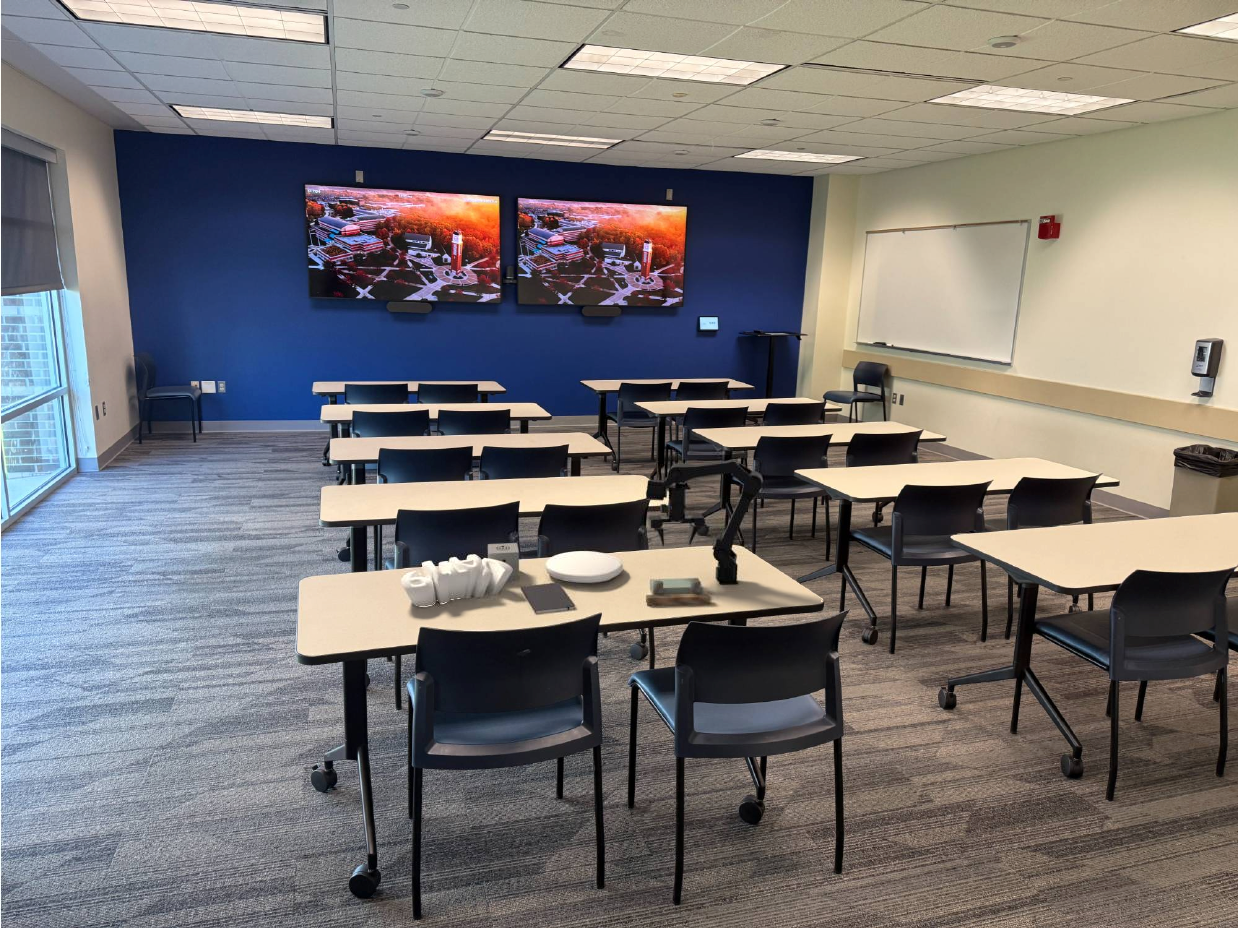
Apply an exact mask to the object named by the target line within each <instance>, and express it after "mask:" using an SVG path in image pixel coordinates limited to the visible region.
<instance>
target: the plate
mask: <svg viewBox="0 0 1238 928" xmlns="http://www.w3.org/2000/svg"><path fill="white" fill-rule="evenodd" d="M544 567H545V571H546V573H547V574H548V575H549V576H551V577H553V578H555V579H558V580H560V581H565V582H572V583H580V584H581V583H583V584H584V583H585V584H587V583H588V584H594V583H602V582H607V581H609V580H612V579H613V578H615V577H617V576H618V575H619V574H621V573H622V571H623V568H624V566H623V562H622V560H620V559H619V558H618V557H616V556H614V555H611V554H607V553H604V552H598V551H588V550H584V551H583V550H582V551H581V550H579V551H569V552H563V553H559V554H555V555H553V556H552V557H550V558H549V559H548V560H547V561H546V562H545V565H544Z"/></svg>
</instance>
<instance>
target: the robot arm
mask: <svg viewBox="0 0 1238 928" xmlns="http://www.w3.org/2000/svg"><path fill="white" fill-rule="evenodd" d="M727 474H731V475H732V476H734V477H735V478H736V479H737V480H738V481H739V482H740V483H742V484H743V485H742V489H741V494H740V497H739V498H738V499H739V500H738V502H737V504H736V506H735V508H734V510H733V512H732V515H731V517H730V519H729V521H728V524H727V526H726V528H725V530H724V532H723V533H722V535H721V534H720V533H717V537H716V540H715V541H714V542H713V543H712V550H713V551H712V555H713V558H714V559H715V561H717V566H716V567H715V579H716V581H717V583H718V584H719V585H738V584H739V581H738V569H739V567H738V566H739V565H738V563H737V559H738V554H737V553H736V552H735V551H734V550H733V545H734V541H735V537H736V535H737V533H738V531H739V529H740V527H741V524H742V522H743V520H744V517H745V515H746V513H747V511H748V509H749V507H750V505H751V502H752V501H753V500H754V498H755V497H756V496H757V495H758V493H759V492H760V491H761V489H762V486H763V476H762V474H761V473H759V471H753V470H751V469H750V468H749V467H747V466H745V465H743V464H742V463H740V462H739V461H738V460H736V459H734V458H732V459H729V460H724V461H723V460H722V461H715V462H707V463H699V464H691V463H683V462H682V463H681V462H677V463H674V464H672V465H671V467H670V468H669V471H668V473H667V477H665V478H664V480H654V479H648V480H647V484H646V490H645V499H646V500H647V501H664V500H665V499H667V498H668V502H667V503H664V504H663V503H662V504H660V505H659V506H660V508H659V511H660V514H665V517H666V518H662V517H661V516H660V515H649V517H648V518H647V519H648V521H647V523H648V526H649V528H651V529H653V530H654V531H657V534H658V537H659V541H660V544H661V546H662V547H665V534H664V528H663V526H664V525H682V524H685V525H687V524H689V530H688V531H689V533H688V540H687V541H688V542H687V543H688V546H691V545H692V542H693V541H694V538H695V536H696V534H697V532H698V531H699V530H701V529H702V527H706V518H704V516H703V515H702V514H699V513H698V514H690V516H689V517H686V509H687V507H686V502H687V501H686V496H687V495H686V493H687V490H691V489H692V487H693V486H692V485H691V484H690V483H689V482H688V481H690V480H692V479H695V478H700V477H707V476H708V477H710V476H717V475H727Z"/></svg>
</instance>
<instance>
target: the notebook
mask: <svg viewBox="0 0 1238 928" xmlns="http://www.w3.org/2000/svg"><path fill="white" fill-rule="evenodd" d="M520 591H521V592H522V594H523V595H524V597H525V599H526V601H527V602H528V603H529V605H530V607H531V609H532V611H533V612H534V613H535V615H537V614H545V613H552V612H553V613H554V612H562V611H570V610H574V609H575V607H576V604H575V603H574V601H573V600H572V599H571V597H570V596H569V595H568V593H567V592H566V591H565V589H564V588H563V587H562V585H561V584H560V583H559V582H549V583H540V584H532V585H531V584H530V585H524V586H520Z"/></svg>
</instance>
